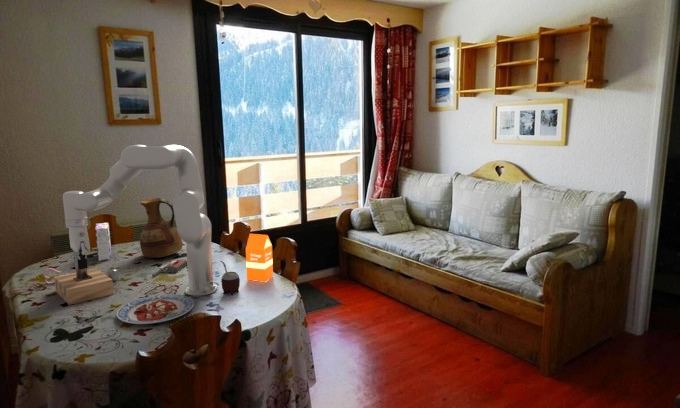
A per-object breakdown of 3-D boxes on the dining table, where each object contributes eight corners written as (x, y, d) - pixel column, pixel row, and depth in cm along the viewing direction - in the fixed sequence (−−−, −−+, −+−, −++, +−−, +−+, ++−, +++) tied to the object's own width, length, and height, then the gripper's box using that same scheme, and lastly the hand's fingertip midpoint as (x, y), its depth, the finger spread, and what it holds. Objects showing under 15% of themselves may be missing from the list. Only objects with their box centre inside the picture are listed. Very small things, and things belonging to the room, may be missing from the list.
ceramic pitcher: (143, 252, 242) (138, 196, 237) (183, 248, 248) (179, 193, 243) (139, 262, 224) (133, 202, 219) (182, 259, 230) (178, 200, 224)
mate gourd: (238, 288, 189) (236, 253, 186) (241, 295, 182) (240, 258, 179) (220, 291, 186) (218, 255, 184) (222, 298, 179) (220, 261, 176)
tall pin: (89, 277, 184) (86, 248, 182) (78, 279, 182) (75, 250, 180) (86, 274, 187) (83, 246, 185) (75, 277, 185) (72, 248, 182)
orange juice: (265, 283, 195) (263, 237, 192) (246, 280, 198) (244, 235, 195) (273, 277, 203) (272, 232, 199) (255, 275, 206) (253, 231, 202)
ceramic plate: (106, 313, 166) (105, 305, 165) (174, 294, 184) (174, 287, 183) (134, 336, 148) (133, 328, 147) (207, 313, 166) (206, 305, 165)
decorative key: (95, 284, 204) (42, 284, 195) (95, 283, 205) (42, 283, 196) (97, 269, 203) (43, 268, 194) (97, 268, 204) (44, 267, 195)
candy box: (99, 254, 239) (96, 223, 236) (111, 252, 241) (108, 222, 238) (97, 261, 227) (94, 228, 224) (111, 259, 229) (108, 227, 226)
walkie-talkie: (172, 264, 222) (150, 278, 203) (171, 255, 222) (149, 268, 202) (189, 265, 221) (169, 279, 202) (188, 256, 221) (168, 269, 201)
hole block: (113, 293, 184) (112, 279, 183) (68, 304, 173) (67, 289, 172) (98, 281, 198) (96, 268, 197) (55, 291, 187) (53, 276, 186)
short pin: (120, 281, 199) (118, 270, 198) (110, 283, 196) (109, 272, 195) (116, 278, 201) (115, 267, 201) (107, 281, 199) (105, 270, 198)
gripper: (93, 224, 177) (98, 270, 180) (81, 217, 189) (85, 260, 192) (71, 227, 172) (76, 274, 175) (60, 220, 184) (65, 264, 187)
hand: (81, 266), depth 184 cm, fingers closed on tall pin, 4 cm apart
